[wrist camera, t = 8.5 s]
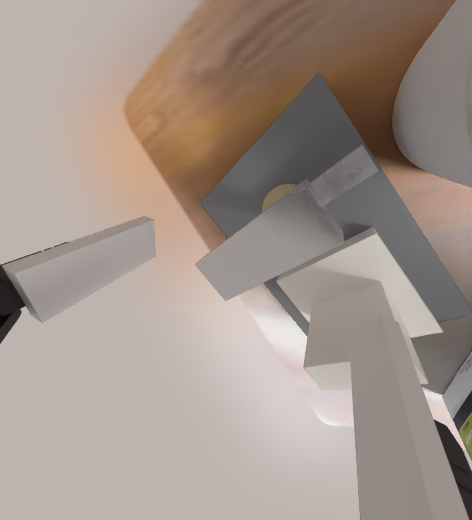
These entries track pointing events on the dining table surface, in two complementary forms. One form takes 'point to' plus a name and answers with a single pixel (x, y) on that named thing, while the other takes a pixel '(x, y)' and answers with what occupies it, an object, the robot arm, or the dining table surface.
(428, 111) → the utensil holder
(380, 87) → the dining table surface
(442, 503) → the robot arm
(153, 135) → the dining table surface
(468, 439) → the tea box
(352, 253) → the cover
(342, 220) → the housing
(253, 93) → the dining table surface
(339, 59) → the dining table surface
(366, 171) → the t key
